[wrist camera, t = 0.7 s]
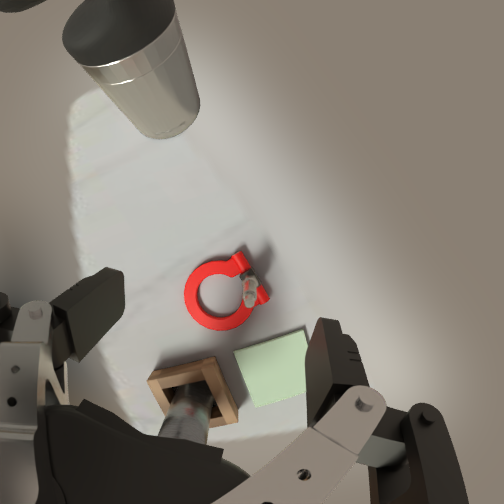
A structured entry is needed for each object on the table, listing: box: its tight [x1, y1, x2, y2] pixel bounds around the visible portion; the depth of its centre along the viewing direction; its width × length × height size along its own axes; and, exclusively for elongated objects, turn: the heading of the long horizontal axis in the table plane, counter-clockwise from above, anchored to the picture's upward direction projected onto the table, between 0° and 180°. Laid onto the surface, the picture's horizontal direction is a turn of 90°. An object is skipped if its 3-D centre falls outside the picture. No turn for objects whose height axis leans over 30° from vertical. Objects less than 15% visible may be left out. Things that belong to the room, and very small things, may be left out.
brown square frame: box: [147, 356, 238, 428], centre depth 31 cm, size 9×9×3 cm
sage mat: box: [234, 329, 308, 407], centre depth 33 cm, size 9×9×1 cm
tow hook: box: [184, 251, 270, 331], centre depth 26 cm, size 8×13×9 cm
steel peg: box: [158, 380, 214, 445], centre depth 25 cm, size 7×7×15 cm
